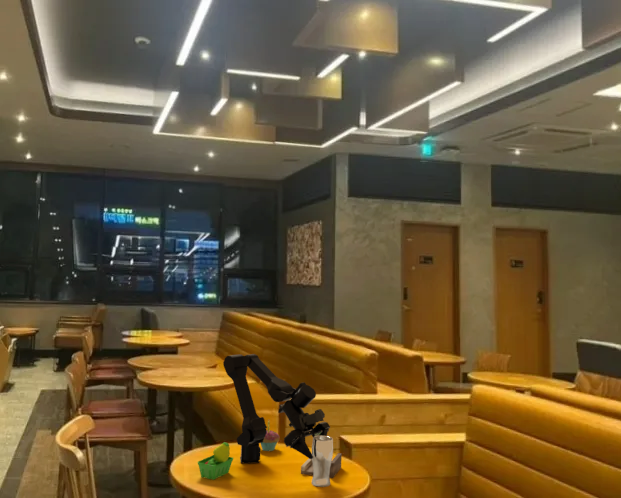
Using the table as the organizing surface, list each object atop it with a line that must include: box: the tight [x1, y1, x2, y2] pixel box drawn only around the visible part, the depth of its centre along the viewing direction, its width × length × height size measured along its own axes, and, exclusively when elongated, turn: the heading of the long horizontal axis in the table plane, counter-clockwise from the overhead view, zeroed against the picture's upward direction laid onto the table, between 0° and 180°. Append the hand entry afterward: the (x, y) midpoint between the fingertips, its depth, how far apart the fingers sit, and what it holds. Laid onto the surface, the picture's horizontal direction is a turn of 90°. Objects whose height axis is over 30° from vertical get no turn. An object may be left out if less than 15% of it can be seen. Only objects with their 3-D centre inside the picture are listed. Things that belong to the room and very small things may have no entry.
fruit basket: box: [197, 441, 234, 480], centre depth 212 cm, size 11×9×11 cm
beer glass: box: [311, 435, 334, 488], centre depth 208 cm, size 7×7×15 cm
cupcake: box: [260, 420, 280, 452], centre depth 244 cm, size 9×8×12 cm
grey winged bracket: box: [300, 452, 343, 479], centre depth 221 cm, size 11×12×5 cm
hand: (320, 455), depth 208 cm, fingers open, 9 cm apart
